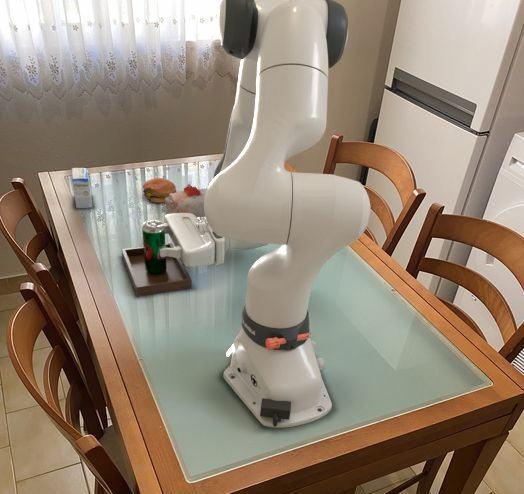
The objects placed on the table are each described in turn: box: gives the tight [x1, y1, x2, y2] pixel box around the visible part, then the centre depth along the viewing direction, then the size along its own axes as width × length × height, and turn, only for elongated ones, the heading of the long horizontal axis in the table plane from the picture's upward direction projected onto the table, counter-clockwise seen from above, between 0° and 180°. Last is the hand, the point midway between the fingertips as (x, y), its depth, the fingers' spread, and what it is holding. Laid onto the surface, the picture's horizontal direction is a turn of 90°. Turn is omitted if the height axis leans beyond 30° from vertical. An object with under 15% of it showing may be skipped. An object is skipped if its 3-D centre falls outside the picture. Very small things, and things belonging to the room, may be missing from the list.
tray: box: [121, 242, 192, 297], centre depth 127 cm, size 18×13×2 cm
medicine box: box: [70, 167, 93, 209], centre depth 150 cm, size 8×4×9 cm, turn 17°
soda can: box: [141, 219, 167, 274], centre depth 123 cm, size 5×5×12 cm
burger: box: [142, 177, 177, 204], centre depth 158 cm, size 10×9×5 cm
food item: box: [165, 183, 208, 218], centre depth 146 cm, size 14×8×10 cm, turn 117°
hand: (154, 242), depth 122 cm, fingers open, 8 cm apart
